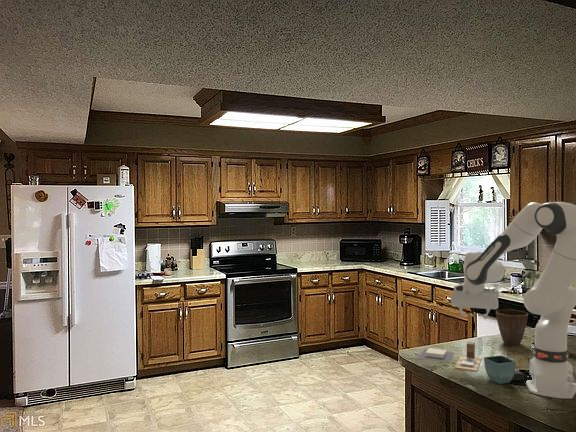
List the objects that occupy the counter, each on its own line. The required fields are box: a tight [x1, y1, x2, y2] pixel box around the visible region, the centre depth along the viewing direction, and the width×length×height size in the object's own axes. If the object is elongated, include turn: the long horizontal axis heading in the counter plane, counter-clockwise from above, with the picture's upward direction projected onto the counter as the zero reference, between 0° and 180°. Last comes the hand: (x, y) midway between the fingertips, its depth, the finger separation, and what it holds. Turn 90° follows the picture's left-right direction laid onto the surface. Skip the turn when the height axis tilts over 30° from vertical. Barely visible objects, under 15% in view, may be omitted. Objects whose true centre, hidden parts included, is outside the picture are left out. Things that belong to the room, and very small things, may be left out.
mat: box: [417, 348, 455, 363], centre depth 231 cm, size 16×14×1 cm
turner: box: [461, 341, 476, 367], centre depth 220 cm, size 15×5×7 cm, turn 153°
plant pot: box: [495, 309, 529, 347], centre depth 251 cm, size 15×15×16 cm
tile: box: [426, 347, 448, 359], centre depth 231 cm, size 2×8×8 cm
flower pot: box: [483, 355, 517, 385], centre depth 197 cm, size 9×9×9 cm
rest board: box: [454, 354, 483, 373], centre depth 219 cm, size 20×9×1 cm, turn 153°
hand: (474, 317), depth 224 cm, fingers open, 8 cm apart
